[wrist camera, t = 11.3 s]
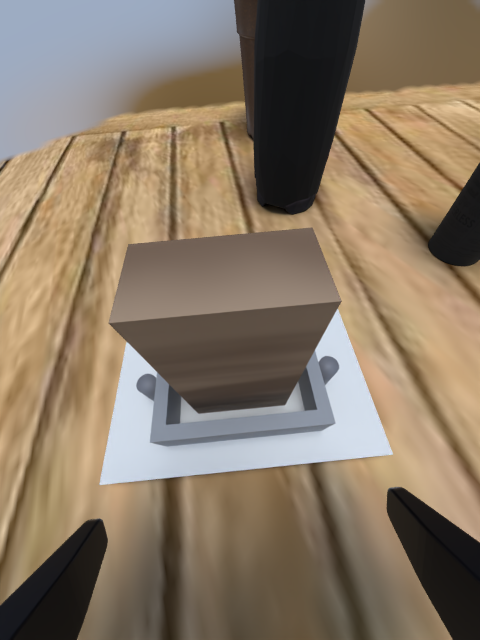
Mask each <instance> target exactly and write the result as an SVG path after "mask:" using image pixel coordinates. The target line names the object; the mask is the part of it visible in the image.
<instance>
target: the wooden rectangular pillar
mask: <svg viewBox="0 0 480 640" xmlns="http://www.w3.org/2000/svg"><path fill="white" fill-rule="evenodd" d="M340 303H341V298H340V296H339V293H338V291H337V288H336V286H335V283H334V281H333V278H332V276H331V273H330V271H329V268H328V266H327V263H326V261H325V258H324V256H323V253H322V251H321V248H320V245H319V243H318V240H317V238H316V235H315V233H314V230H313V228H303V229H292V230H281V231H270V232H259V233H248V234H237V235H226V236H215V237H204V238H193V239H182V240H171V241H160V242H149V243H138V244H128V248H127V252H126V256H125V260H124V264H123V268H122V272H121V276H120V280H119V284H118V288H117V292H116V296H115V300H114V303H113V307H112V311H111V315H110V319H109V324H110V325H111V326H112V327H113V328H114V329H115V330H116V331H117V332H118V333H119V334H120V335H121V336H122V337H123V338H124V339H125V340H126V341H127V342H128V343H129V344H130V345H131V346H132V347H133V348H134V349H135V350H136V351H137V352H138V353H139V354H140V355H141V356H142V357H143V358H144V359H145V360H146V361H147V362H148V363H149V364H150V365H151V366H152V367H153V369H154V370H155V371H156V372H157V373H158V374H159V375H160V376H161V377H162V378H163V379H164V380H165V381H166V382H167V383H168V384H169V385H170V386H171V387H172V388H173V389H174V390H175V391H176V392H177V393H178V394H179V395H180V396H181V397H182V398H183V399H184V400H185V401H186V402H187V403H188V404H189V405H190V406H191V407H192V408H193V409H194V410H195V411H196V412H197V413H198V414H202V413H212V412H222V411H232V410H243V409H253V408H263V407H273V406H283V405H286V403H287V401H288V399H289V397H290V395H291V393H292V392H293V390H294V388H295V386H296V384H297V382H298V381H299V379H300V377H301V375H302V373H303V371H304V369H305V368H306V366H307V364H308V362H309V360H310V358H311V357H312V355H313V353H314V351H315V349H316V347H317V346H318V344H319V342H320V340H321V338H322V336H323V334H324V333H325V331H326V329H327V327H328V325H329V323H330V322H331V320H332V318H333V316H334V314H335V312H336V311H337V309H338V307H339V305H340Z"/></svg>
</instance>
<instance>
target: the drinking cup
mask: <svg viewBox="0 0 480 640" xmlns="http://www.w3.org/2000/svg"><path fill="white" fill-rule="evenodd" d="M428 246H429V249H430V251H431V252H432V254H433V255H434V256H436V257H437V258H438V259H440V260H442V261H444V262H446V263H449V264H452V265H457V266H468V265H472V264H474V263H476V262H477V261H478V260H480V163H479V165H478V166H477V168H476V169H475V171H474V172H473V174H472V175H471V177H470V179H469V180H468V182H467V183H466V185H465V186H464V188H463V189H462V191H461V193H460V194H459V196H458V197H457V199H456V200H455V202H454V203H453V205H452V207H451V208H450V210H449V211H448V213H447V214H446V216H445V218H444V219H443V221H442V222H441V224H440V225H439V227H438V228H437V230H436V232H435V233H434V235H433V236H432V238H431V239H430V241H429V244H428Z"/></svg>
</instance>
